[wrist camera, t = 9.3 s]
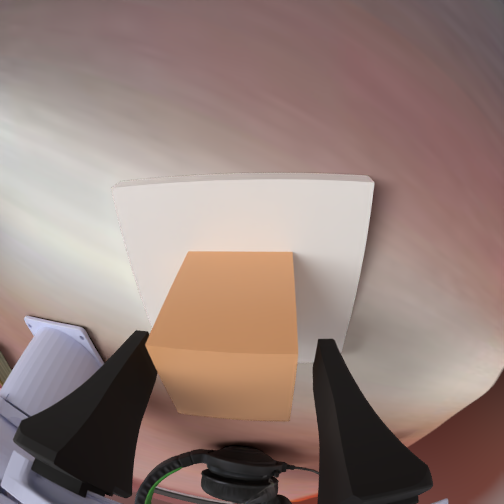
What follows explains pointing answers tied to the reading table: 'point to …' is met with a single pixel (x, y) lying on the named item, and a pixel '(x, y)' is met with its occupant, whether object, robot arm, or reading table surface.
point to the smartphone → (188, 497)
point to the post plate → (254, 236)
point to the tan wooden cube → (229, 336)
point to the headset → (226, 475)
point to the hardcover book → (3, 370)
